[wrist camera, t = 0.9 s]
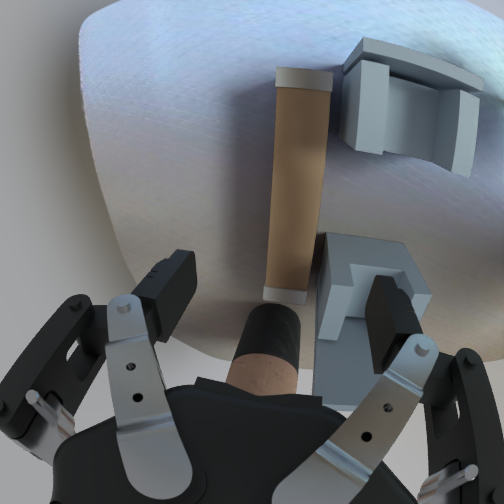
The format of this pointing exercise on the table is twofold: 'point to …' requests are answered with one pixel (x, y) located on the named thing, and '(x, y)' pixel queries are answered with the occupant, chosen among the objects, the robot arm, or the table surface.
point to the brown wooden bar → (296, 180)
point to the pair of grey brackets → (374, 250)
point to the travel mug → (267, 352)
